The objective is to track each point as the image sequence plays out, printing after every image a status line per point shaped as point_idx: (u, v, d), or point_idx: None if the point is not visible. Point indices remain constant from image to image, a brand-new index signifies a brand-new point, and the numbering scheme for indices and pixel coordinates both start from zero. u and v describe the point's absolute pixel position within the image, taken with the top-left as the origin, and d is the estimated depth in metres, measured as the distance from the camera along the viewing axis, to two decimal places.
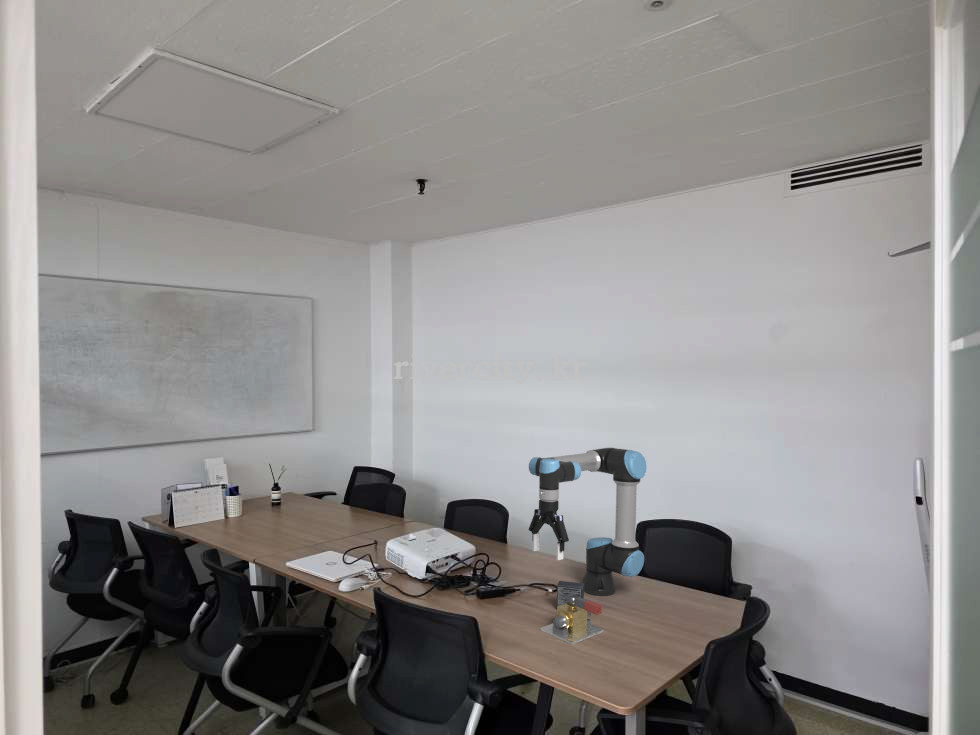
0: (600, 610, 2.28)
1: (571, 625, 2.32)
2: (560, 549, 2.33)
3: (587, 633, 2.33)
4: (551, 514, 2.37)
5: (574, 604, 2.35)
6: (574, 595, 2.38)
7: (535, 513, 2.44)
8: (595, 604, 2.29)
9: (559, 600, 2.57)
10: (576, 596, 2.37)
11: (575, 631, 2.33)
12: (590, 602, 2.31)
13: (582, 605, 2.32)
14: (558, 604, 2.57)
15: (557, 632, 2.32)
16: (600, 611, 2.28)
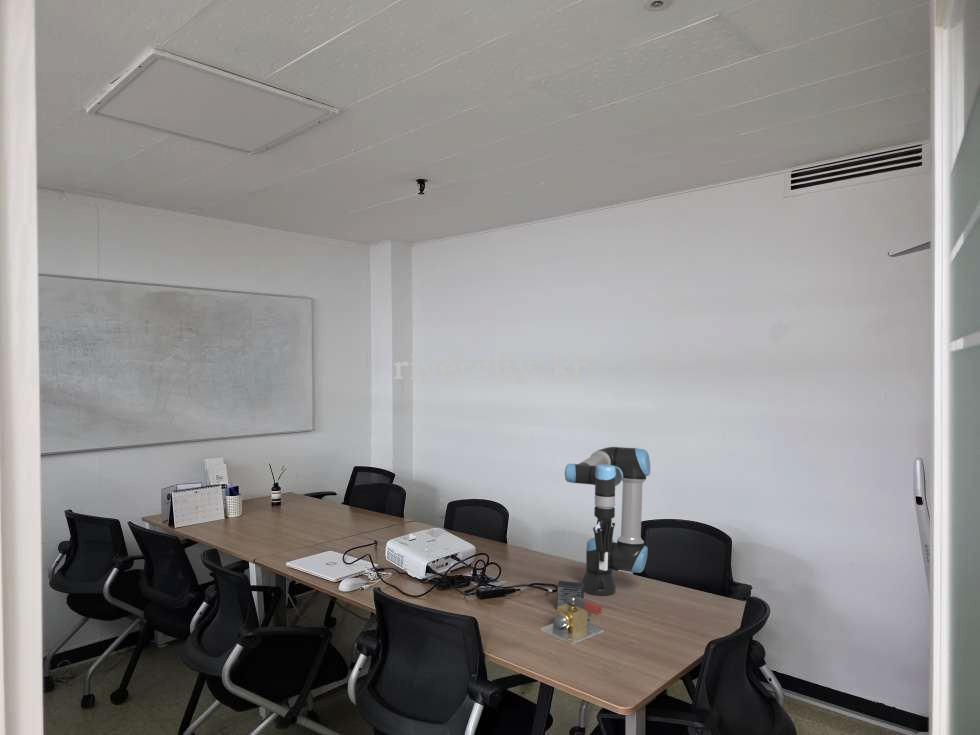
0: (600, 610, 2.28)
1: (571, 625, 2.32)
2: None
3: (587, 633, 2.33)
4: None
5: (574, 604, 2.35)
6: (574, 595, 2.38)
7: None
8: (595, 604, 2.29)
9: (559, 600, 2.57)
10: (576, 596, 2.37)
11: (575, 631, 2.33)
12: (590, 602, 2.31)
13: (582, 605, 2.32)
14: (558, 604, 2.57)
15: (557, 632, 2.32)
16: (600, 611, 2.28)
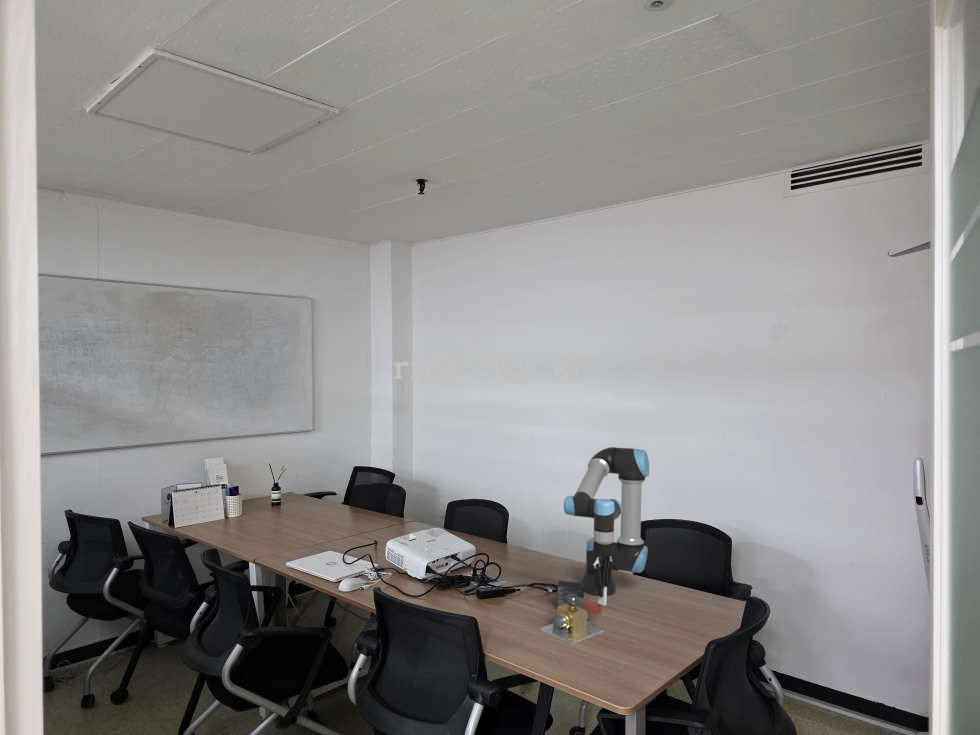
0: (600, 610, 2.28)
1: (571, 625, 2.32)
2: None
3: (587, 633, 2.33)
4: None
5: (574, 604, 2.35)
6: (574, 595, 2.38)
7: None
8: (595, 604, 2.29)
9: (559, 600, 2.57)
10: (576, 596, 2.37)
11: (575, 631, 2.33)
12: (590, 602, 2.31)
13: (582, 605, 2.32)
14: (558, 604, 2.57)
15: (557, 632, 2.32)
16: (600, 611, 2.28)
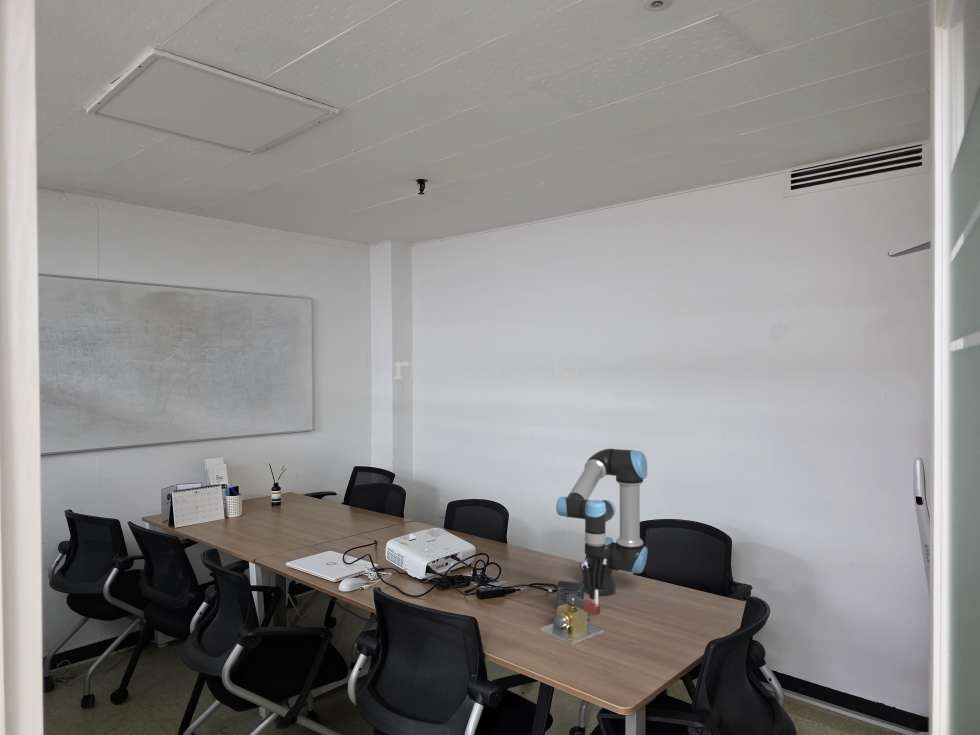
0: (598, 611, 2.27)
1: (571, 625, 2.32)
2: None
3: (587, 633, 2.33)
4: None
5: (574, 604, 2.35)
6: (574, 595, 2.38)
7: None
8: (593, 604, 2.28)
9: (559, 600, 2.57)
10: (576, 596, 2.37)
11: (575, 631, 2.33)
12: (589, 602, 2.30)
13: (581, 605, 2.32)
14: (558, 604, 2.57)
15: (557, 632, 2.32)
16: (598, 612, 2.27)
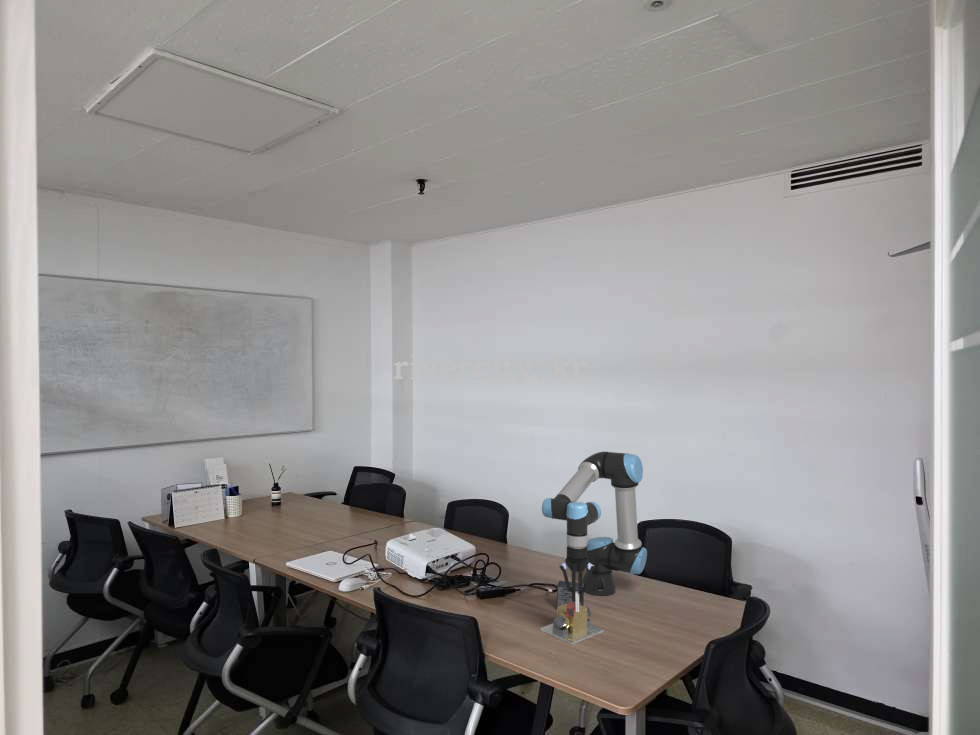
0: (571, 613, 2.25)
1: (571, 625, 2.32)
2: None
3: (587, 633, 2.33)
4: None
5: None
6: None
7: None
8: (570, 606, 2.26)
9: (559, 600, 2.57)
10: None
11: (575, 631, 2.33)
12: (571, 604, 2.29)
13: None
14: (558, 604, 2.57)
15: (557, 632, 2.32)
16: (571, 614, 2.25)
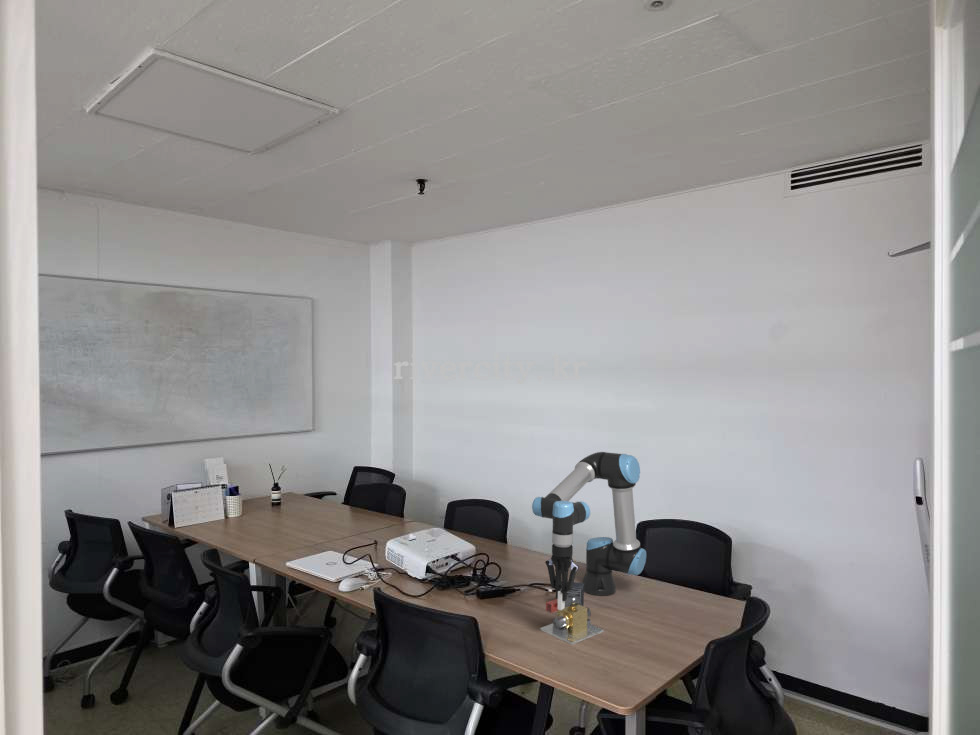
0: (549, 608, 2.29)
1: (571, 625, 2.32)
2: None
3: (587, 633, 2.33)
4: None
5: None
6: (574, 596, 2.37)
7: None
8: (552, 602, 2.30)
9: None
10: (572, 597, 2.36)
11: (575, 631, 2.33)
12: (556, 600, 2.32)
13: None
14: None
15: (557, 632, 2.32)
16: (549, 609, 2.28)
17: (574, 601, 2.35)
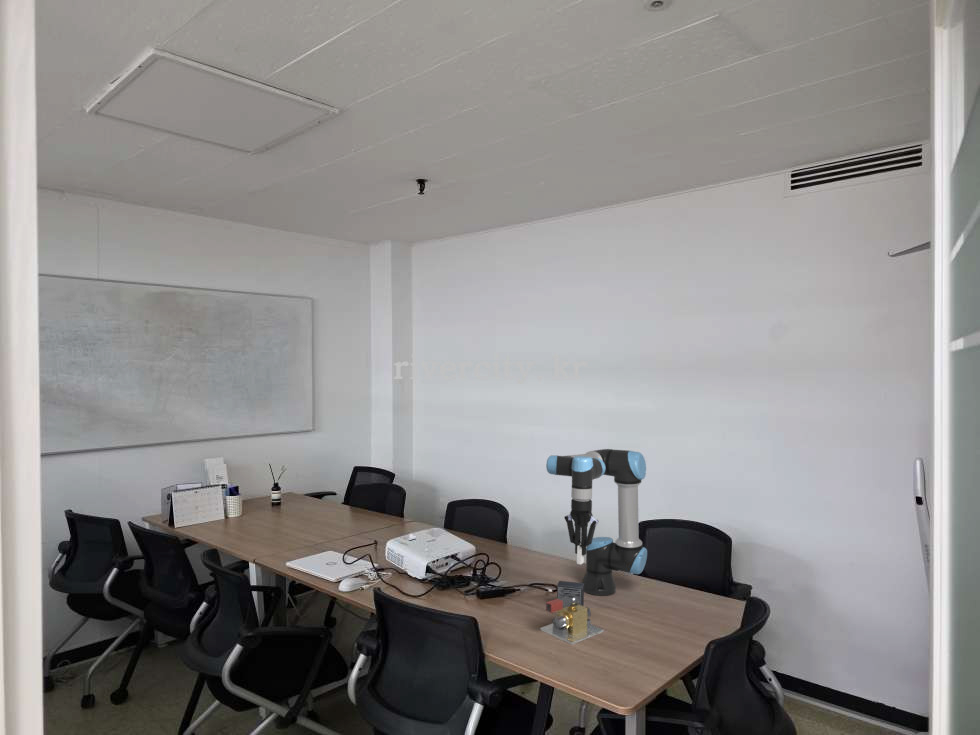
0: (549, 608, 2.29)
1: (571, 625, 2.32)
2: None
3: (587, 633, 2.33)
4: None
5: None
6: (574, 596, 2.37)
7: None
8: (552, 602, 2.30)
9: None
10: (572, 597, 2.36)
11: (575, 631, 2.33)
12: (556, 600, 2.32)
13: None
14: None
15: (557, 632, 2.32)
16: (549, 609, 2.28)
17: (574, 601, 2.35)
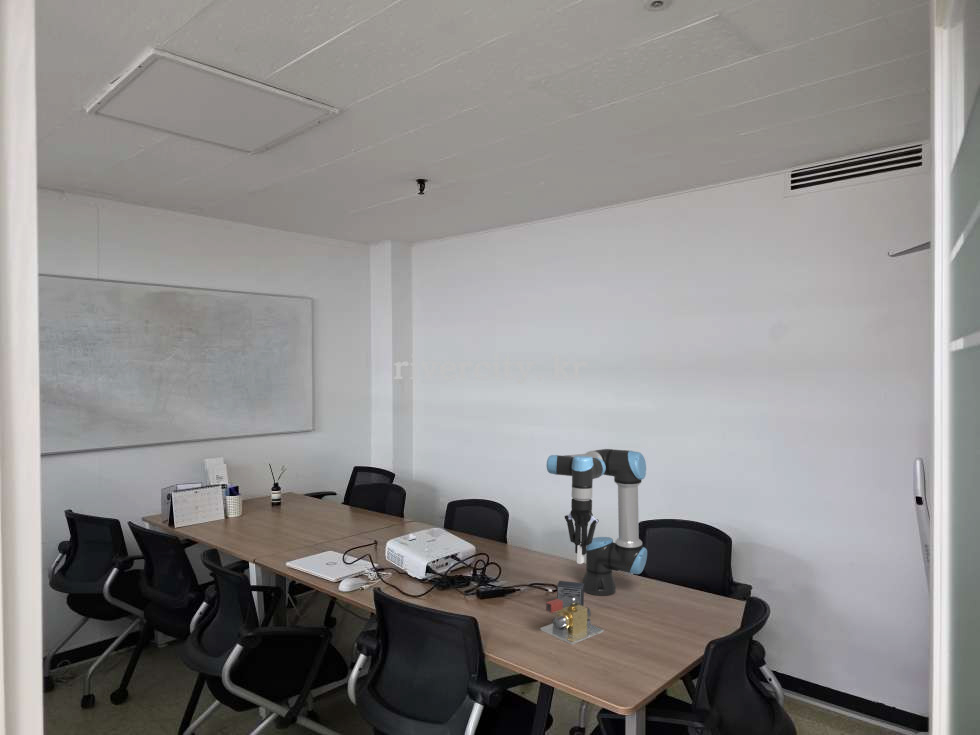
0: (549, 608, 2.29)
1: (571, 625, 2.32)
2: None
3: (587, 633, 2.33)
4: None
5: None
6: (574, 596, 2.37)
7: None
8: (552, 602, 2.30)
9: None
10: (572, 597, 2.36)
11: (575, 631, 2.33)
12: (556, 600, 2.32)
13: None
14: None
15: (557, 632, 2.32)
16: (549, 609, 2.28)
17: (574, 601, 2.35)
